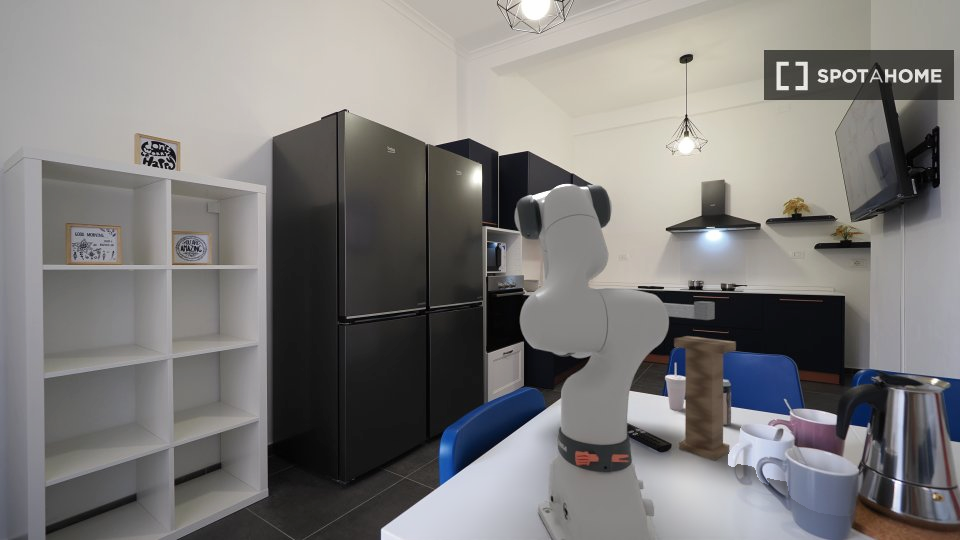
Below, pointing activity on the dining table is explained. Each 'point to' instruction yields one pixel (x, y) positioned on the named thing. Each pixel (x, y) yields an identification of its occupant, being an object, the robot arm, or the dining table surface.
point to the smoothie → (676, 390)
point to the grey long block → (692, 310)
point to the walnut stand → (704, 395)
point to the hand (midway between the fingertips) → (651, 306)
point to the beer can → (726, 402)
